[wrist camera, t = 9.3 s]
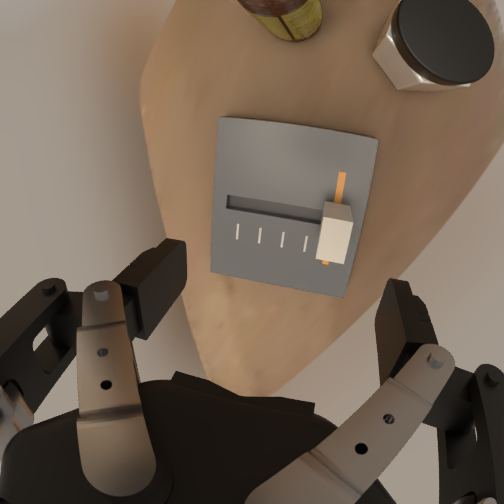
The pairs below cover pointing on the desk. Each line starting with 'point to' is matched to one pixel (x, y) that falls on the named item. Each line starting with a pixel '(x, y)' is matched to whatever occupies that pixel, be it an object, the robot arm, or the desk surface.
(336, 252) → the fader tab
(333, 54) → the desk surface
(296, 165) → the fader console
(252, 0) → the sauce bottle
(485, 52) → the jar
